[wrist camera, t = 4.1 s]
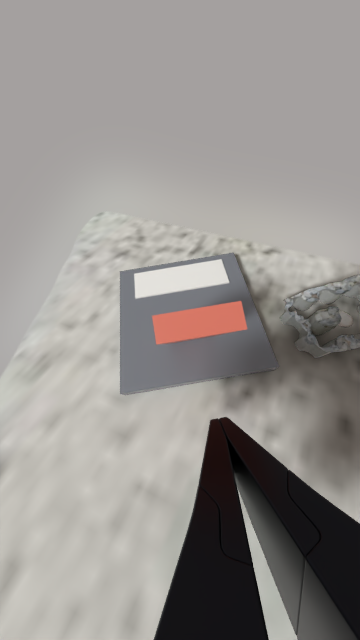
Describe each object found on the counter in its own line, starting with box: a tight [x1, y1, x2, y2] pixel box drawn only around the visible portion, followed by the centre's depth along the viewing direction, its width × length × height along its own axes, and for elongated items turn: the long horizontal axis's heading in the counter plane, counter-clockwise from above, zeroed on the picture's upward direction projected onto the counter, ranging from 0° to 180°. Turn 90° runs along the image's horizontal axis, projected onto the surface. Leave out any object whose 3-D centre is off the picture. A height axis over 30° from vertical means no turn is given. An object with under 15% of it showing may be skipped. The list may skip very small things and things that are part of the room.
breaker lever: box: [152, 301, 247, 345], centre depth 15 cm, size 2×6×10 cm, turn 98°
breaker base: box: [120, 253, 279, 395], centre depth 22 cm, size 16×16×2 cm
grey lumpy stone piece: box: [280, 275, 360, 358], centre depth 20 cm, size 11×8×4 cm
